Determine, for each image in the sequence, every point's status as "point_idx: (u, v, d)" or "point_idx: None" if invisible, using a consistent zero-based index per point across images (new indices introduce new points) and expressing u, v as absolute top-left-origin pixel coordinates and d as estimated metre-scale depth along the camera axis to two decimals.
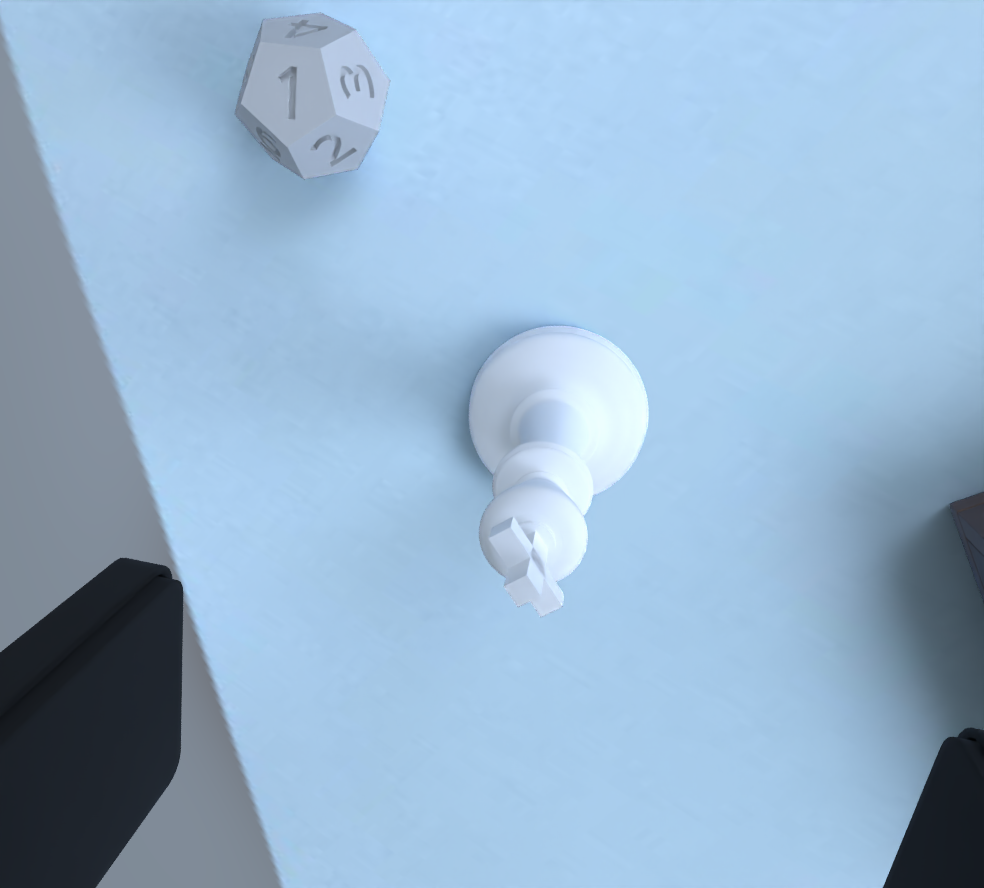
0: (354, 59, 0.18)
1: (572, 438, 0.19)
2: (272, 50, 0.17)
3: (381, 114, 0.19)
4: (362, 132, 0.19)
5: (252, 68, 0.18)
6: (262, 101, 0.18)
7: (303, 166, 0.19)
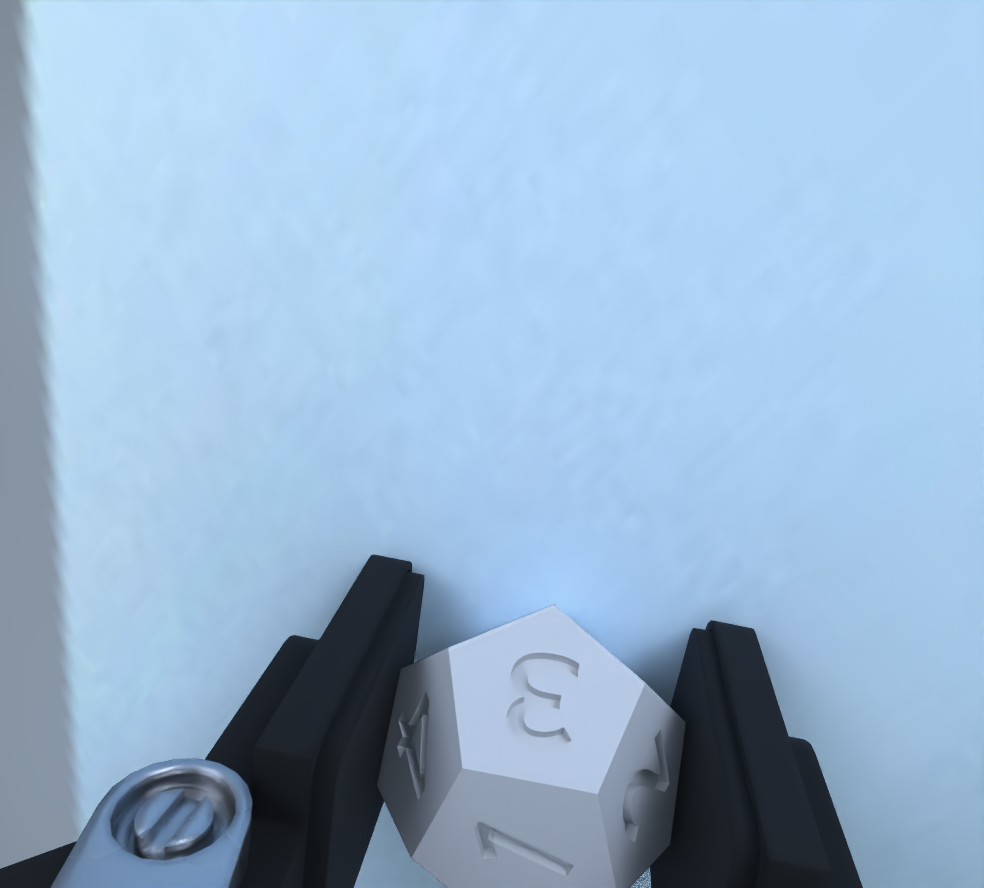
0: (499, 680, 0.09)
1: None
2: (433, 846, 0.08)
3: (613, 658, 0.09)
4: (638, 722, 0.09)
5: None
6: None
7: (653, 851, 0.09)
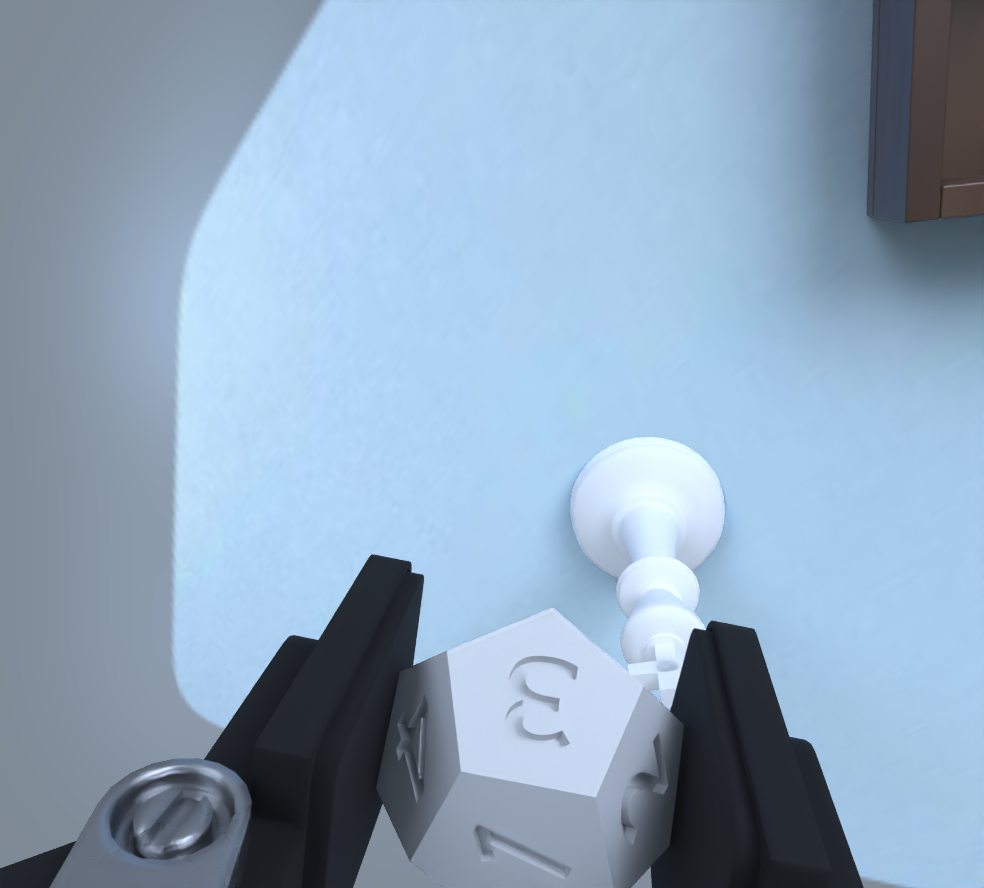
0: (498, 683, 0.09)
1: (646, 533, 0.23)
2: (432, 849, 0.08)
3: (611, 661, 0.09)
4: (636, 724, 0.09)
5: None
6: None
7: (651, 853, 0.09)
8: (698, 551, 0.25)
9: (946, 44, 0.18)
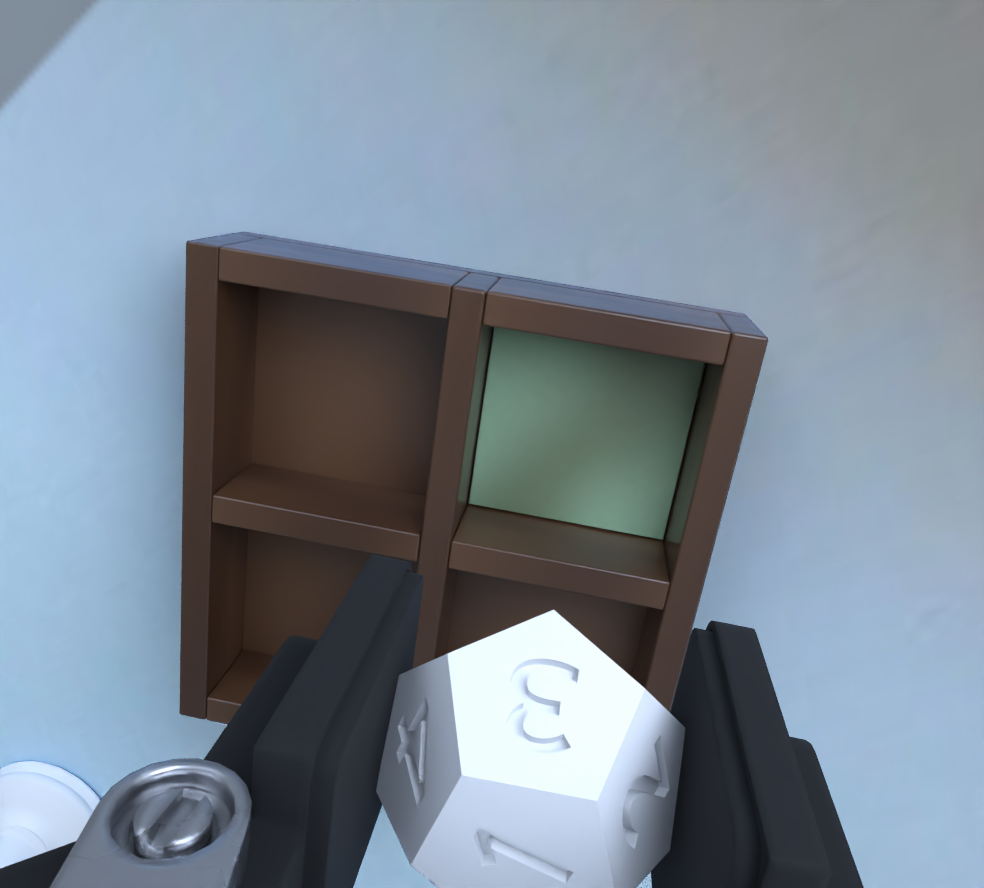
0: (499, 686, 0.09)
1: None
2: (433, 853, 0.08)
3: (612, 664, 0.09)
4: (637, 727, 0.09)
5: None
6: None
7: (653, 857, 0.09)
8: None
9: (204, 603, 0.22)
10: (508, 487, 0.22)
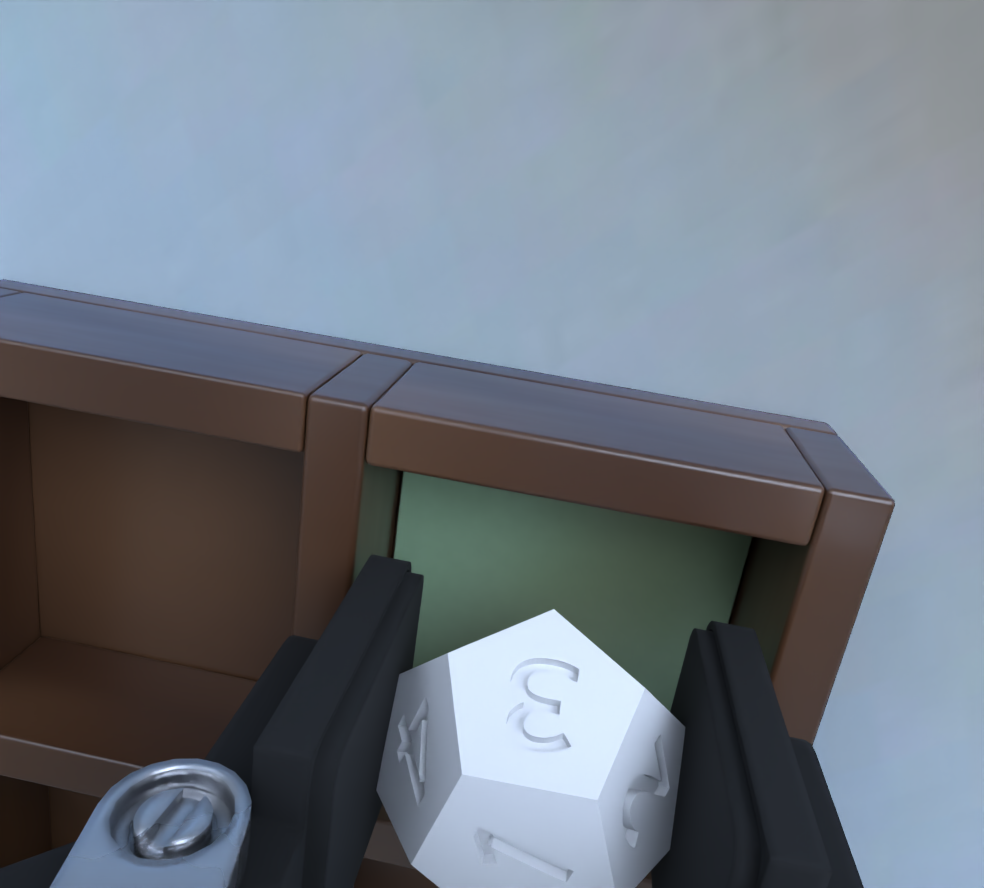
0: (499, 685, 0.09)
1: None
2: (433, 852, 0.08)
3: (612, 663, 0.09)
4: (638, 727, 0.09)
5: None
6: None
7: (653, 856, 0.09)
8: None
9: None
10: None
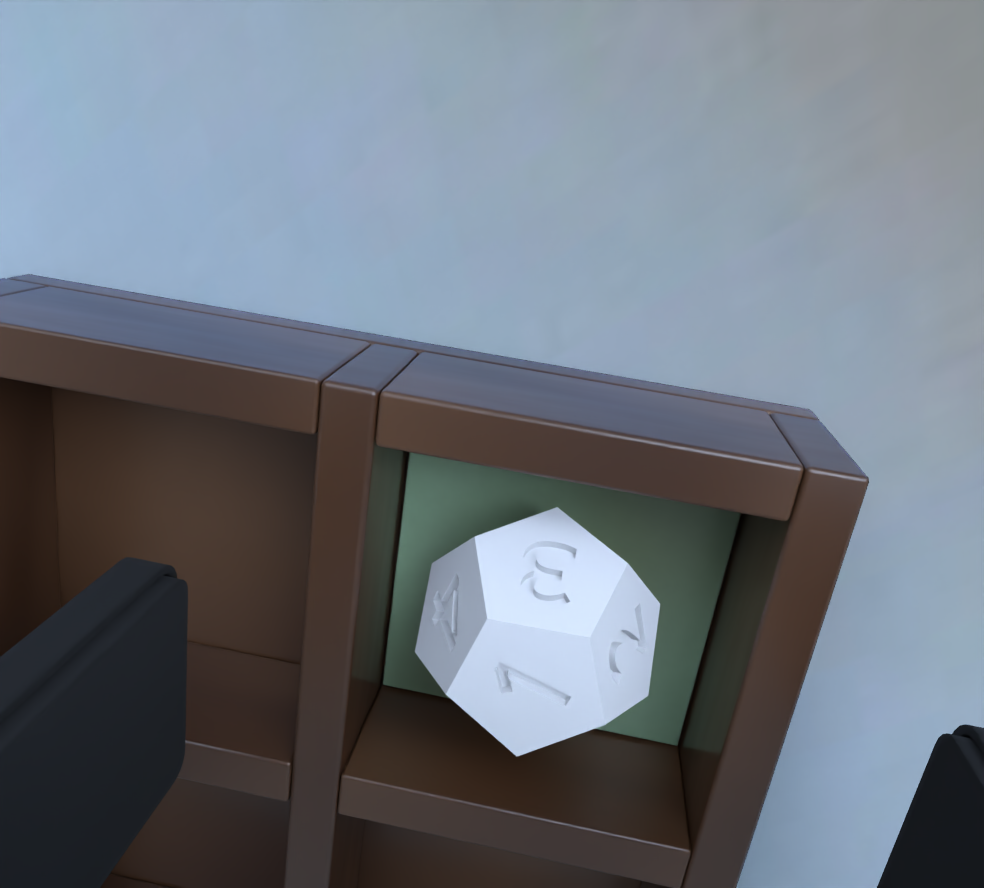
0: (514, 560, 0.11)
1: None
2: (463, 683, 0.11)
3: (603, 546, 0.11)
4: (621, 591, 0.11)
5: (476, 719, 0.11)
6: (526, 728, 0.11)
7: (633, 697, 0.12)
8: None
9: None
10: None
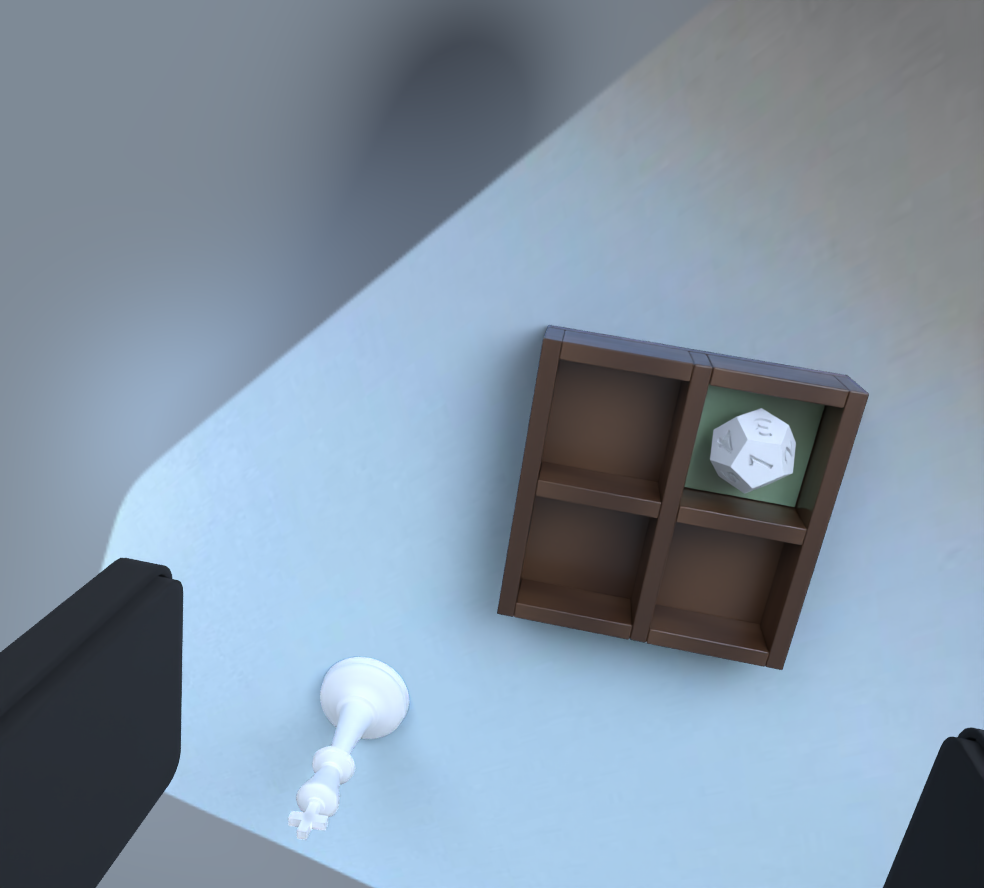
0: (751, 423, 0.34)
1: (346, 723, 0.41)
2: (737, 462, 0.34)
3: (779, 420, 0.34)
4: (787, 433, 0.34)
5: (739, 475, 0.34)
6: (756, 477, 0.34)
7: (789, 471, 0.34)
8: (385, 728, 0.44)
9: (524, 544, 0.37)
10: (702, 475, 0.37)
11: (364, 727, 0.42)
